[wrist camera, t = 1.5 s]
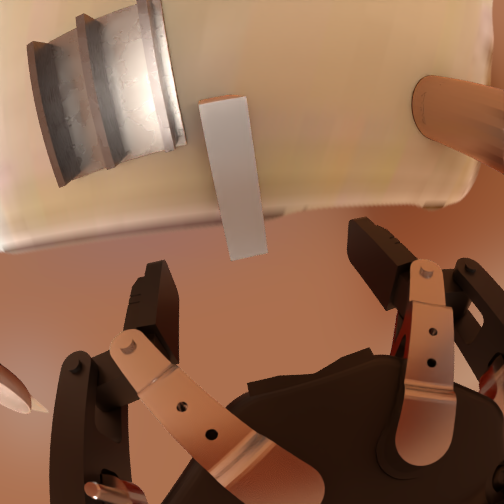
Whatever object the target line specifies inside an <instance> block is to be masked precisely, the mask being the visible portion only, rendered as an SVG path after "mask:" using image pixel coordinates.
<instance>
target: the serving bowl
mask: <svg viewBox="0 0 504 504" xmlns="http://www.w3.org/2000/svg"><path fill="white" fill-rule="evenodd" d="M0 404H1V405H3V406H5V407H7V408H9V409H11V410H14V411H16V412H20V413H24V414H28V413H30V412H31V398H30V395H29V392H28V390H27V388H26V387H25V386H24V384H23V383H22V382H21V381H20V380H19V379H18V378H17V377H16V376H15V375H14V374H13V373H12V372H10V371H9V370H8V369H7V368H5V367H4V366H2V365H1V364H0Z"/></svg>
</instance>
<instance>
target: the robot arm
mask: <svg viewBox="0 0 504 504" xmlns="http://www.w3.org/2000/svg"><path fill="white" fill-rule="evenodd" d="M412 109H413V116H414V120H415V122H416V125H417V127H418V128H419V130H420V132H421V133H422V134H423V135H424V136H426V137H427V138H429V139H432V140H434V141H437V142H439V143H441V144H444V145H446V146H448V147H450V148H453V149H455V150H457V151H459V152H461V153H463V154H466V155H468V156H470V157H472V158H474V159H476V160H478V161H480V162H482V163H484V164H486V165H488V166H489V167H491V168H493V169H495V170H497V171H498V172H500V173H502V174H504V90H501V89H498V88H494V87H490V86H487V85H482V84H478V83H474V82H469V81H464V80H459V79H454V78H448V77H441V76H434V75H431V76H426V77H424V78H423V79H421V80H420V81H419V83H418V84H417V86H416V88H415V90H414V94H413V100H412ZM348 226H349V227H348V243H347V254H348V258H349V260H350V262H351V264H352V265H353V266H354V267H355V269H356V270H357V271H358V273H359V274H360V275H361V277H362V278H363V279H364V281H365V282H366V284H367V285H368V286H369V288H370V289H371V290H372V292H373V293H374V295H375V296H376V297H377V299H378V300H379V302H380V303H381V304H382V306H383V307H384V309H385V310H386V311H388V310H390V309H393V308H396V309H397V310H398V311H397V315H396V321H395V328H394V336H393V341H392V347H391V352H390V355H373V353H372V351H371V349H370V348H366V349H363V350H361V351H358V352H355V353H352V354H350V355H347V356H344V357H341V358H340V359H338V360H337V361H335V362H333V363H332V364H330V365H328V366H327V367H325V368H323V369H322V370H320V371H318V372H316V373H314V374H304V375H286V376H285V375H283V376H276V377H272V378H267V379H263V380H259V381H255V382H250V383H247V385H248V390H249V392H247V393H245V394H242V395H241V396H239V397H238V398H236V399H235V400H233V401H232V402H231V403H230V404H229V405H227V407H226V408H225V407H223V406H222V405H221V404H220V403H218V402H217V401H216V400H215V399H214V398H213V397H211V396H210V395H209V394H208V393H207V392H206V391H204V390H203V389H202V388H201V387H200V386H199V385H198V384H197V383H195V382H194V381H193V380H192V379H191V378H190V377H189V376H188V375H187V374H186V373H185V372H184V371H183V370H182V369H181V368H180V367H178V366H177V365H176V364H179V295H178V291H177V288H176V285H175V283H174V280H173V278H172V275H171V273H170V270H169V268H168V265H167V263H166V261H165V260H161V261H157V262H152V263H148V264H147V266H146V271H145V276H144V277H140V278H138V279H137V281H136V282H135V284H134V285H133V286H132V290H131V295H130V297H131V298H130V299H129V305H128V309H127V313H126V318H125V323H124V329H123V332H121V333H119V334H118V335H117V336H116V337H115V338H114V339H113V340H112V342H111V344H110V349H109V350H108V351H106V352H104V353H102V354H100V355H97V356H95V357H92V358H91V357H90V356H89V355H88V353H86V352H84V351H77V352H74V353H72V354H70V355H69V356H68V357H67V358H66V359H65V361H64V362H63V365H62V368H61V372H60V377H59V382H58V388H57V394H56V400H55V407H54V414H53V422H52V433H51V445H50V469H49V472H50V473H49V481H50V504H148V502H147V499H146V496H145V494H144V492H143V491H142V490H141V489H140V487H138V486H137V485H136V484H134V483H132V478H131V467H130V454H129V436H128V404H129V403H132V402H134V401H136V400H139V399H141V400H142V402H143V403H144V404H145V405H146V407H147V408H148V409H149V410H150V412H151V413H152V414H153V415H154V416H155V417H156V419H157V420H158V421H159V422H160V423H161V424H162V426H163V427H165V429H166V430H167V431H168V432H169V433H170V434H171V435H172V436H173V438H174V439H175V440H176V441H177V442H178V443H179V444H180V445H181V446H182V447H183V448H184V449H185V450H186V451H187V452H188V453H189V454H190V455H191V456H192V459H191V460H190V462H189V464H188V465H187V467H186V468H185V470H184V471H183V473H182V474H181V476H180V477H179V479H178V480H177V481H176V483H175V484H174V486H173V487H172V489H171V490H170V492H169V493H168V495H167V496H166V497H165V499H164V500H163V502H162V503H161V504H504V291H503V289H502V288H501V287H500V286H499V285H498V284H497V283H496V282H495V281H494V279H493V278H492V277H491V276H490V275H489V274H488V273H487V272H486V271H485V270H484V269H483V268H482V267H481V266H480V265H479V264H478V263H477V262H476V261H474V260H472V259H469V258H461V259H459V260H458V261H457V263H456V266H455V268H454V269H443V270H441V268H440V267H439V266H438V265H437V264H436V263H434V262H432V261H430V260H426V259H417V258H416V257H415V256H414V255H413V254H412V253H411V252H410V251H409V250H408V249H407V248H406V247H405V246H404V245H403V244H402V243H400V241H399V240H398V239H396V238H394V236H393V235H392V234H391V233H390V232H389V231H388V230H386V229H384V228H382V227H380V226H378V225H377V226H376V225H375V224H374V223H373V222H372V221H371V220H369V219H368V218H367V217H362V218H357V219H352V220H350V221H349V225H348ZM471 302H473V303H474V304H475V306H476V307H477V308H478V310H479V311H480V312H481V314H482V315H483V319H484V323H483V326H482V328H481V326H480V325H479V323H478V322H477V321H476V319H475V318H474V317H473V315H472V314H471V313H470V311H469V310H468V308H469V306H470V304H471ZM454 341H455V343H456V345H457V346H458V347H459V349H460V351H461V353H462V354H463V356H464V357H465V359H466V361H467V362H468V364H469V366H470V367H471V369H472V371H473V373H474V374H475V376H476V378H477V380H478V381H479V389H480V390H479V392H476V391H473V390H471V389H469V388H467V387H464V386H462V385H460V384H457V383H455V382H453V379H454Z"/></svg>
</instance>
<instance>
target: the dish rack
mask: <svg viewBox="0 0 504 504" xmlns="http://www.w3.org/2000/svg"><path fill="white" fill-rule="evenodd" d="M76 26H77V28H75V29H73V30H71V31H69V32H67V33H65V34H63V35H62V36H60V37H58V38H56V39H54V40H52V41H51V42H49V43H42V42H36V41H33V42H31V43H29V44H28V45H27V55H28V64H29V72H30V78H31V85H32V90H33V96H34V101H35V106H36V111H37V115H38V119H39V123H40V127H41V131H42V135H43V139H44V142H45V146H46V149H47V153H48V156H49V159H50V162H51V165H52V168H53V171H54V174H55V177H56V180H57V183H58V186H59V188H60V187H63V186H65V185H66V184H68V183H69V182H70V181H71V180H74V179H77V178H79V177H82V176H84V175H87V174H90V173H92V172H95V171H98V170H101V169H104V168H107V170H108V169H111V168H114V167H116V166H117V165H118V164H119V163H122V162H125V161H128V160H131V159H135V158H138V157H141V156H145V155H148V154H152V153H155V152H159V151H163V150H165V152H169V151H172V150H175V148H176V147H178V146H182V145H186V144H187V141H186V136H185V131H184V127H183V122H182V117H181V112H180V107H179V102H178V97H177V92H176V87H175V81H174V76H173V71H172V65H171V60H170V54H169V48H168V42H167V36H166V30H165V24H164V17H163V10H162V4H161V0H137V4H135V5H132V6H129V7H126V8H123V9H121V10H118V11H115V12H112V13H110V14H107V15H105V16H102V17H100V18H97V19H93V18H91V17H90V16H88V15H86V14H82V15H79V16H77V17H76Z"/></svg>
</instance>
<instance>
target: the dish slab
mask: <svg viewBox="0 0 504 504" xmlns="http://www.w3.org/2000/svg"><path fill="white" fill-rule="evenodd" d="M198 106H199V111H200V116H201V121H202V127H203V132H204V137H205V142H206V147H207V152H208V157H209V162H210V167H211V172H212V176H213V181H214V186H215V191H216V196H217V200H218V205H219V210H220V214H221V219H222V223H223V228H224V233H225V237H226V242H227V246H228V250H229V255H230V259H231V261H233V260H238V259H243V258H247V257H252V256H256V255H260V254H266V253H268V249H267V241H266V233H265V226H264V218H263V210H262V203H261V196H260V188H259V181H258V174H257V167H256V160H255V153H254V146H253V139H252V132H251V125H250V118H249V112H248V105H247V98H246V96H239V95H225V96H220V97H214V98H209V99H204V100H199V104H198Z"/></svg>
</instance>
